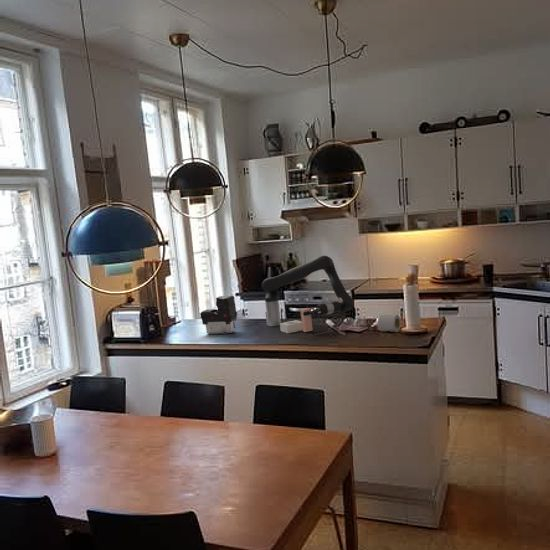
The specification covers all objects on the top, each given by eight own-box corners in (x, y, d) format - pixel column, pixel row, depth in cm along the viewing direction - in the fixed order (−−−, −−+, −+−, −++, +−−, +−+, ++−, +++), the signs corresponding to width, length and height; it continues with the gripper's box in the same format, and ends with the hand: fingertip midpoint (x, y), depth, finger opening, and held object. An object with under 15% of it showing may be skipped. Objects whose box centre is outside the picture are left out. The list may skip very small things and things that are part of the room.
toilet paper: (401, 329, 331) (400, 313, 330) (394, 333, 323) (393, 316, 322) (386, 329, 337) (384, 313, 336) (378, 332, 329) (377, 316, 328)
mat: (296, 334, 347) (296, 334, 347) (308, 330, 356) (308, 329, 356) (307, 336, 341) (306, 335, 341) (319, 331, 349) (319, 330, 349)
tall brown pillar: (305, 332, 345) (303, 310, 344) (302, 331, 349) (300, 309, 347) (312, 330, 347) (310, 308, 346) (309, 329, 351) (307, 307, 349)
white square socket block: (287, 334, 350) (286, 324, 350) (280, 332, 359) (279, 322, 359) (304, 331, 355) (303, 321, 355) (297, 329, 364) (296, 319, 364)
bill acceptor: (209, 332, 386) (205, 296, 383) (239, 331, 378) (235, 295, 375) (202, 335, 376) (197, 299, 373) (233, 334, 368) (228, 297, 365)
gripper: (319, 302, 359) (295, 306, 352) (330, 304, 346) (306, 309, 339) (320, 313, 360) (297, 318, 352) (331, 316, 347) (307, 321, 340)
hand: (301, 313), depth 346 cm, fingers closed on tall brown pillar, 4 cm apart
